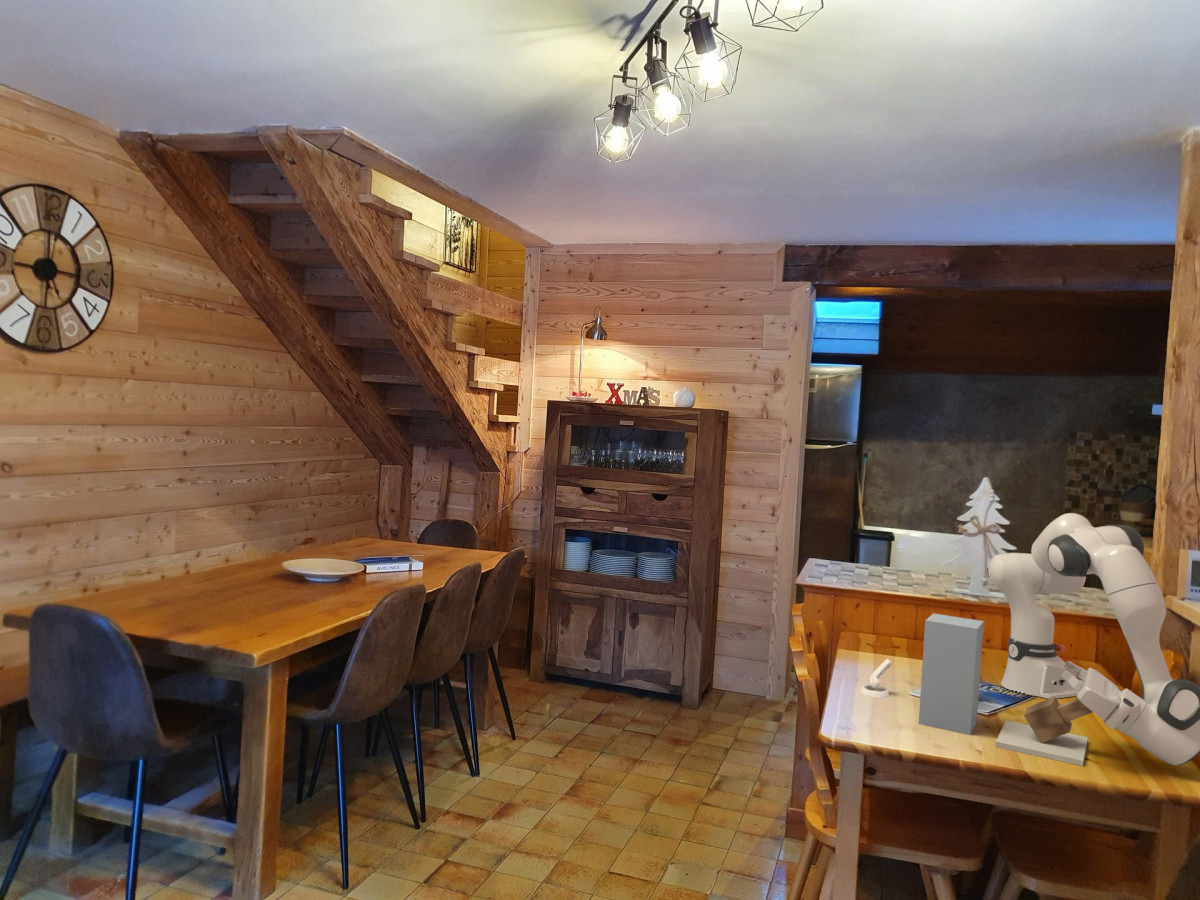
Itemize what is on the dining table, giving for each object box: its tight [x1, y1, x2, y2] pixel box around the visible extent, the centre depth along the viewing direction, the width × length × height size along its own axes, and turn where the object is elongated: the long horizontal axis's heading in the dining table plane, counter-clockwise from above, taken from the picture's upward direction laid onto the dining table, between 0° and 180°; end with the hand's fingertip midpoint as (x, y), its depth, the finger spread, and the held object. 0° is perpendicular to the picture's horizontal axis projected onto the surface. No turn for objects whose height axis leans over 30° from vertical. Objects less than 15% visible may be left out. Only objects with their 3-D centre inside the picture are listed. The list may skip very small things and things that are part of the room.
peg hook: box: [1023, 697, 1093, 743], centre depth 205 cm, size 17×7×7 cm
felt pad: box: [995, 720, 1089, 767], centre depth 208 cm, size 18×18×1 cm
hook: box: [860, 658, 893, 699], centre depth 240 cm, size 8×12×7 cm
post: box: [918, 612, 985, 736], centre depth 219 cm, size 12×10×26 cm
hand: (1064, 668), depth 206 cm, fingers open, 8 cm apart
